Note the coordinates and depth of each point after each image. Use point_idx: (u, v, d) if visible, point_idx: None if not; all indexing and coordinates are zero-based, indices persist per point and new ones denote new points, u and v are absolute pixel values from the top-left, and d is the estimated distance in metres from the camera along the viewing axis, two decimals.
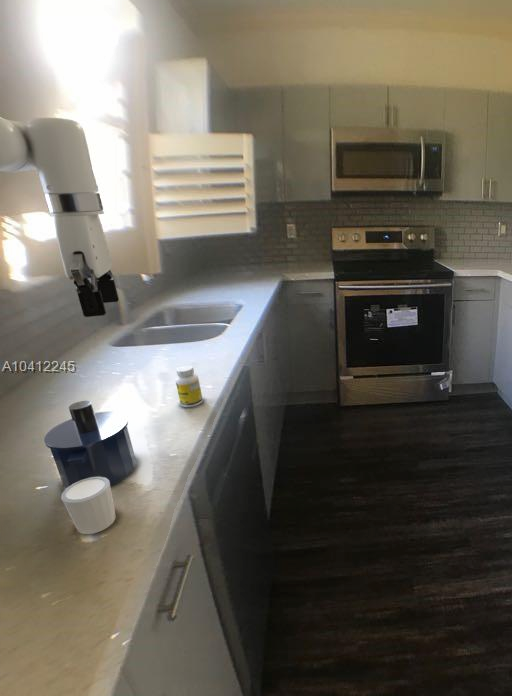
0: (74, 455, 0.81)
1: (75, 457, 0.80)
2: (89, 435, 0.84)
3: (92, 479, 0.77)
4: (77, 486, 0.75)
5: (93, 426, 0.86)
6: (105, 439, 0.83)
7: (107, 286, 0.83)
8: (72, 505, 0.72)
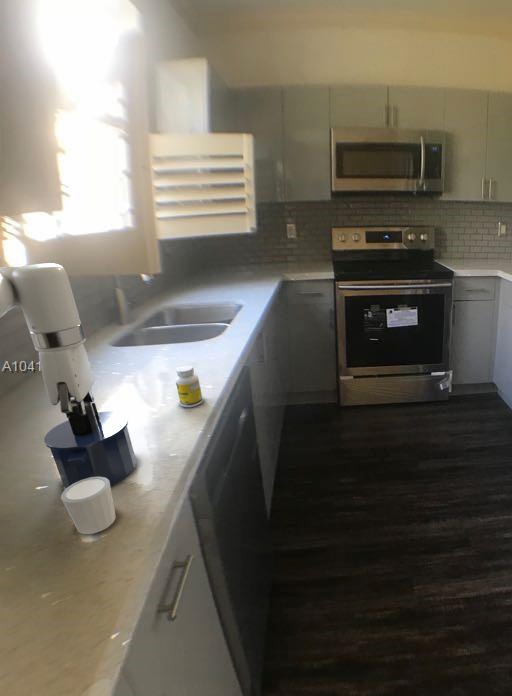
0: (74, 455, 0.81)
1: (75, 457, 0.80)
2: (89, 435, 0.84)
3: (92, 479, 0.77)
4: (77, 486, 0.75)
5: (93, 426, 0.86)
6: (105, 439, 0.83)
7: None
8: (72, 505, 0.72)
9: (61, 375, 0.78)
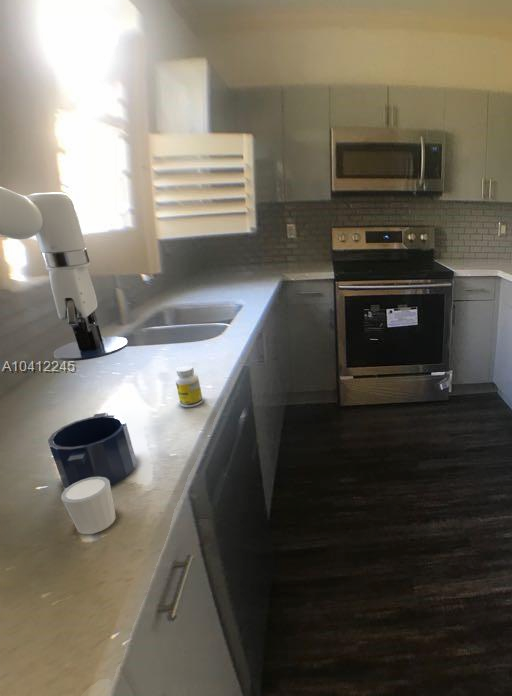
0: (74, 455, 0.81)
1: (75, 457, 0.80)
2: (93, 350, 0.95)
3: (92, 479, 0.77)
4: (77, 486, 0.75)
5: (97, 344, 0.97)
6: (107, 353, 0.94)
7: None
8: (72, 505, 0.72)
9: (68, 291, 0.88)
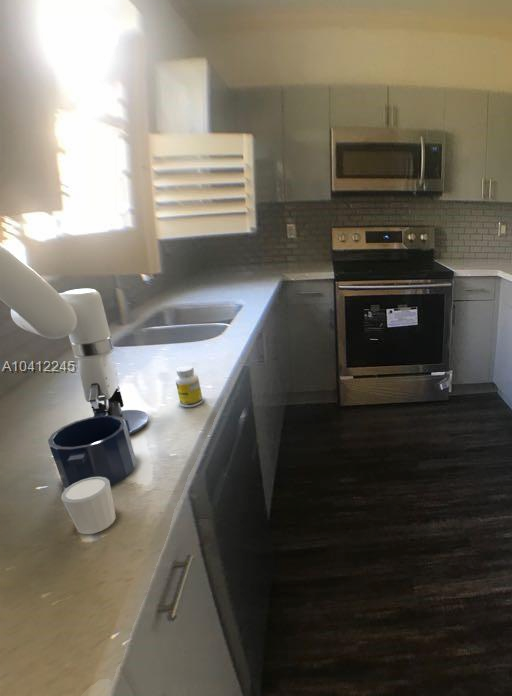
0: (74, 455, 0.81)
1: (75, 457, 0.80)
2: None
3: (92, 479, 0.77)
4: (77, 486, 0.75)
5: None
6: (131, 432, 1.03)
7: (115, 396, 1.09)
8: (72, 505, 0.72)
9: (95, 378, 0.97)
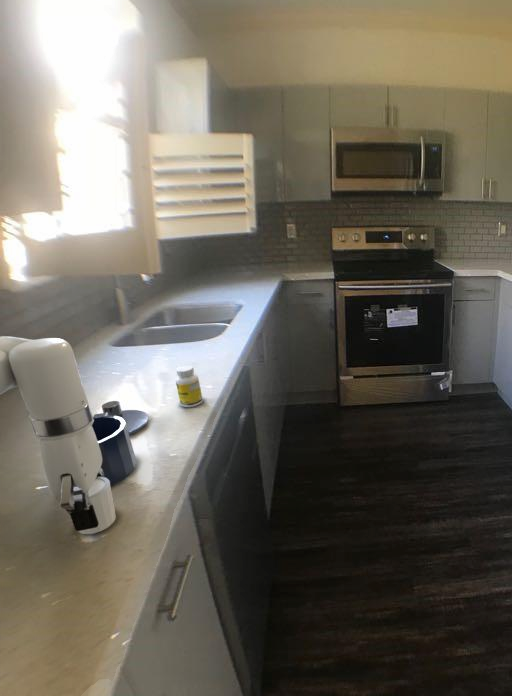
0: None
1: None
2: None
3: None
4: None
5: None
6: (131, 432, 1.03)
7: None
8: None
9: (66, 466, 0.68)
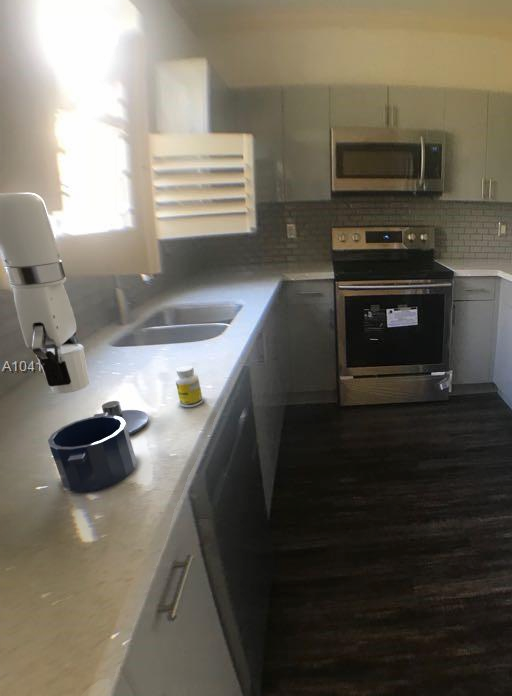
0: (74, 455, 0.81)
1: (75, 457, 0.80)
2: None
3: (67, 345, 0.81)
4: (52, 349, 0.79)
5: None
6: (131, 432, 1.03)
7: None
8: None
9: (38, 315, 0.71)
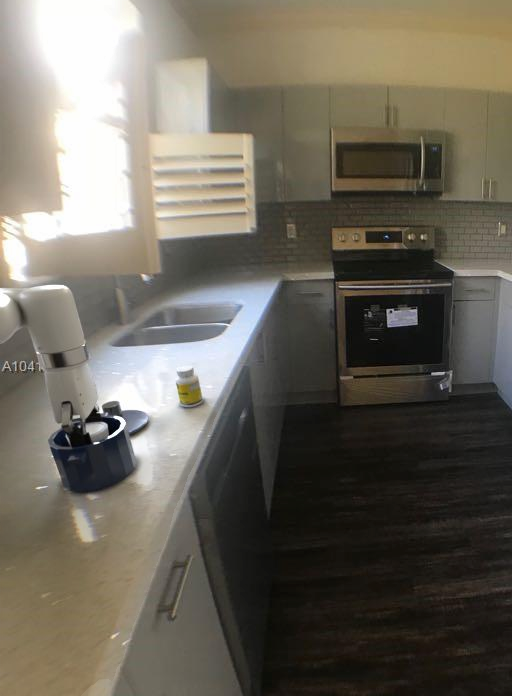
0: (74, 455, 0.81)
1: (75, 457, 0.80)
2: None
3: (92, 423, 0.89)
4: None
5: None
6: (131, 432, 1.03)
7: (93, 419, 0.90)
8: None
9: (66, 394, 0.79)
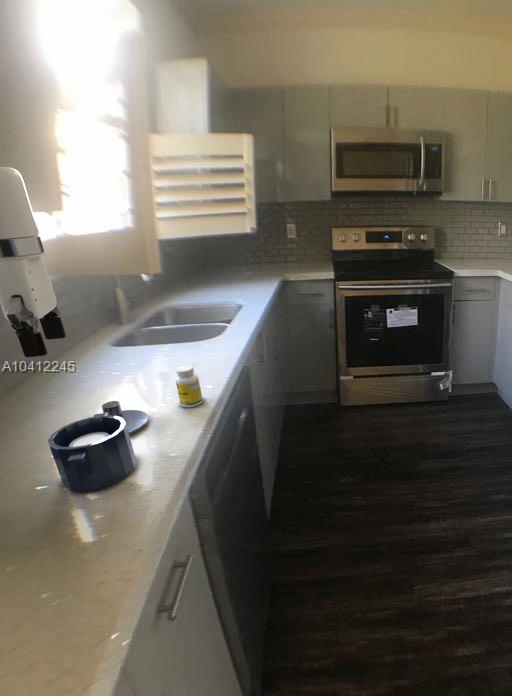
0: (74, 455, 0.81)
1: (75, 457, 0.80)
2: None
3: (95, 434, 0.90)
4: (82, 439, 0.88)
5: None
6: (131, 432, 1.03)
7: (53, 323, 0.85)
8: None
9: (16, 287, 0.73)
